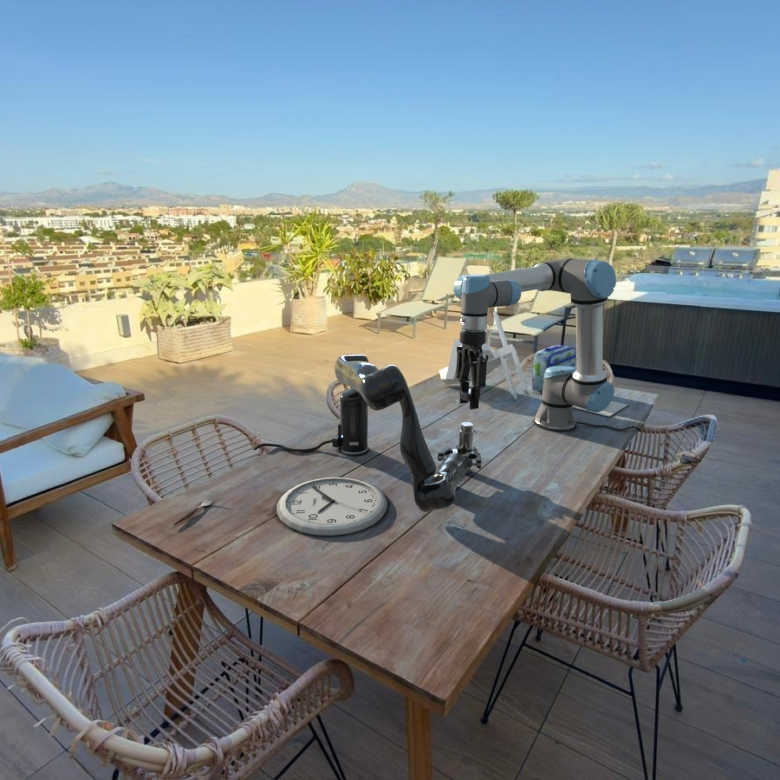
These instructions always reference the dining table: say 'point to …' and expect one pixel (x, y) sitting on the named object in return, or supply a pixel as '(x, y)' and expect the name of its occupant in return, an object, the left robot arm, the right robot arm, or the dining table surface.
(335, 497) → the wall clock
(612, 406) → the invitation card
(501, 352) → the white plastic object
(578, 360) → the right robot arm
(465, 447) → the silver metal cylinder
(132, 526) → the dining table surface
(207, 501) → the fork
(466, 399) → the lid
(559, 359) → the lunch box
